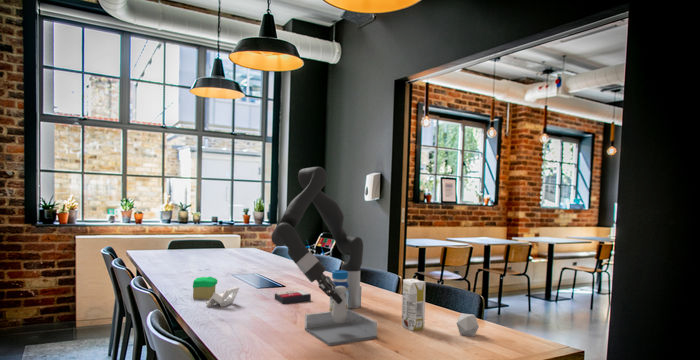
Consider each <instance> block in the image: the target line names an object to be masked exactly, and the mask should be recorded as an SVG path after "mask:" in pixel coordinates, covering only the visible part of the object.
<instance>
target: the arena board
mask: <svg viewBox="0 0 700 360" xmlns="http://www.w3.org/2000/svg"><path fill="white" fill-rule="evenodd" d="M304 331H306V332H307V333H309V334H310V335H311V336H313V337H315V338H316V339H318V340H319V341H321V342H322V343H324V344H326V345H327V346H329V347H330V346H337V345H342V344H343V345H344V344H350V343H355V342H360V341H367V340H375V339H378V335H377V336H372V335H371V334H369V333H367V332H365V331H363V330H361V329H359V328H357V327H355V326H353V325H351V324H349V323H343V324H336V325H328V326H320V327H313V328H305V327H304Z"/></svg>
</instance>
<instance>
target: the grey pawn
mask: <svg viewBox="0 0 700 360" xmlns="http://www.w3.org/2000/svg"><path fill="white" fill-rule="evenodd" d="M335 291H336V293H337V294H338V295H339V296H340V298H341V299H342V302H341V303H340V304H337V302H336V301H334V305H333V310H332V314H331V315H332V318H333V321H334V322H336V323H343V322H344V321H345V319H346V317H347V311H346V304H345V295H344V293H346V287H344V286H336V287H335Z"/></svg>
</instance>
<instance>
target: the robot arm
mask: <svg viewBox="0 0 700 360" xmlns="http://www.w3.org/2000/svg"><path fill="white" fill-rule="evenodd" d="M297 178H298V182H299V185H300V187H301V189H303V190H302V191H301V192H300V193H299V194H298V195H297V196H295V197H294V198H293V199H292V200H291V201H290V203H289V204H288V206H287V208H286V209H285V211H284V213H283V215H282V217H281V219H280V221H279V222H278V223H277V225H276V226H275V227H274V229H273V231H272V233H271V241H272V244H274V245H275V246H277V247H283V246H286V248H287V255H288V256H289V258H290V259H291V261H293V262H294V263H295V264H296V266H297V268H298V269H299V271H300V272H301V273H302V274H303V275H304V276H305V278H306V279H308V281H309V282H310V283H314V282H315V281H316V282H317V284H318V289H320V290H321V291H322V292H323V293H324V294H325V295H326V296H327V297H329V298H330V297H332V298H333V299H334V300H335V301H336V302H337V304H340V303H341V302H342V299H341V298H340V296H339V295H338V294H337V293H336V291H335V287H336V285H335V284H334V283H333V280H332V278H331V277H330V276H328V275H325V274H324V272H325V271H327V269H326V267H325V266H324V265H323V263H322V262H321V261H320V260H319V259H318V258H317V257H316V256H315V254H313V253H312V252H311V251H310V250H309V249H308V247H307V246H306V245H305V244H304V243H303V241H302V239H301V237H300V236H299V234H298V232H297V230H296V227H297V226H298V225H299V223H300V222H301V220H302V219H303V217H304V214H305V212H306V210H307V209H308V208H309V206H310V205H311V203H313V205H314V207H315V208H316V210H317V212H318V213H319V214H320V216H321V219H322V220H323V222H324V223H325V225H326V227H327V229H328V230H329V232H330V233H331V235H332V238H333V239H334V241H335V244H336V246H337V247H336V248H337V249H338V251H339V252H340V254H342V255H344V256H349V259H348V261H346V262H342V263H341V268H340V270H345V271H348V279H347V280H346V281H347V282H348V285H349V289H348V291H349V298H348V309H351V310H352V309H358V308H361V307H362V288H363V287H362V286H361V267H362V264H363V256H364V255H363V253H364V241H363V239H362V238H361V237H360V236H355V235H354V236H352V235H348V234H347V233H346V231H345V230H344V227H343V225H344V217H345V215H344V214H343V212H342V209H341V208H340V206H339V204H338V203H337V201H335V199H333V198H332V197H330V196H329V195H327V194H326V193H324V192H323V191H322V189H323V188H324V186H325V185H326V182H327V178H328V175H327V172H326V170H325V169H324V168H323V167H321V166H312V167H306V168H301V169H300V170H299V171H298V175H297Z"/></svg>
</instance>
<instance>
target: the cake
mask: <svg viewBox="0 0 700 360" xmlns="http://www.w3.org/2000/svg"><path fill="white" fill-rule="evenodd" d="M217 284H218V279H217V278H215V277H212V276H201V277H196V278H195V279H194V280H193V283H192V289H193V290H192V299H200V300H201V299H202V300H203V299H206V300H210V299H211V297H212V296H213V294H214V293H215V292H216V286H217Z"/></svg>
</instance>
